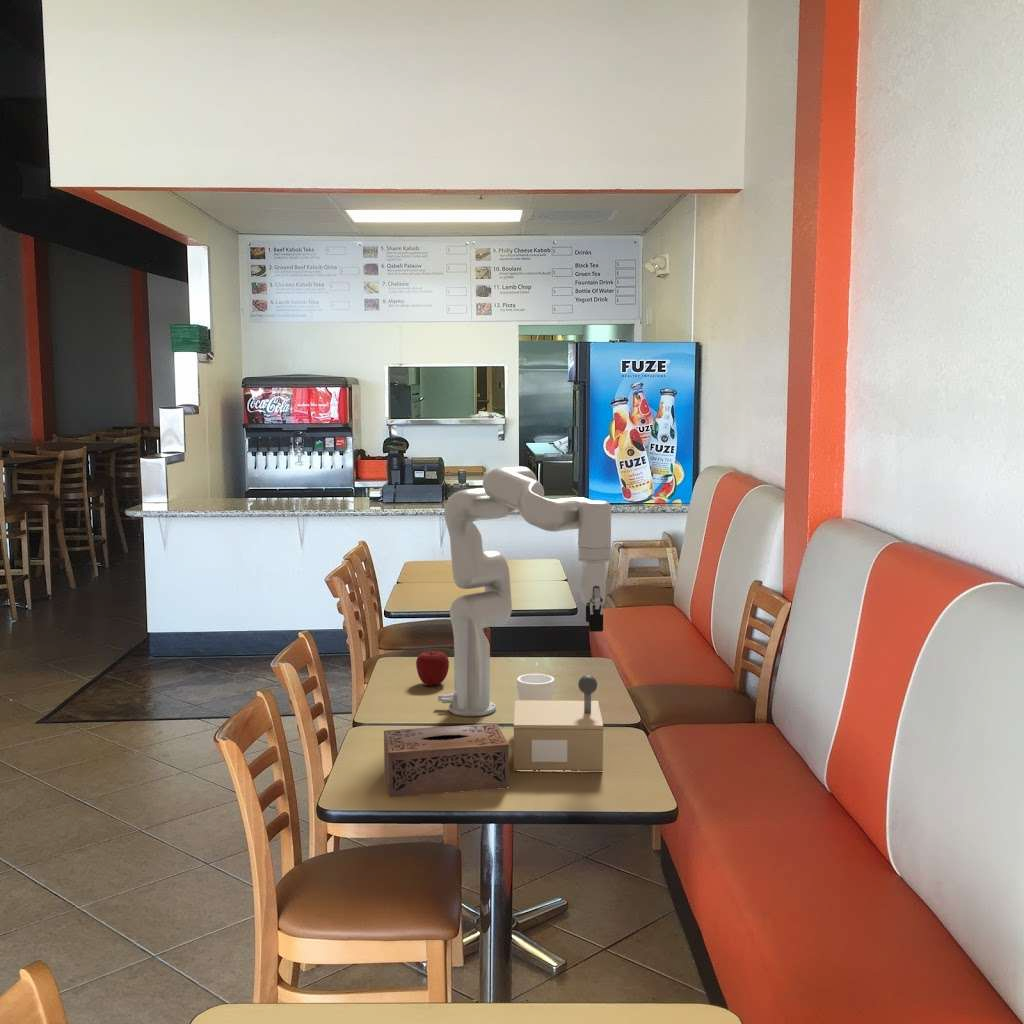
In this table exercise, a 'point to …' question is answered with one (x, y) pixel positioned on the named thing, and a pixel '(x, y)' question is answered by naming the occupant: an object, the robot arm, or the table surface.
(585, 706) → the carton lid
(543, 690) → the foam cup
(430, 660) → the apple
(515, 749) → the carton
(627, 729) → the table surface
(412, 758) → the tissue box cover
